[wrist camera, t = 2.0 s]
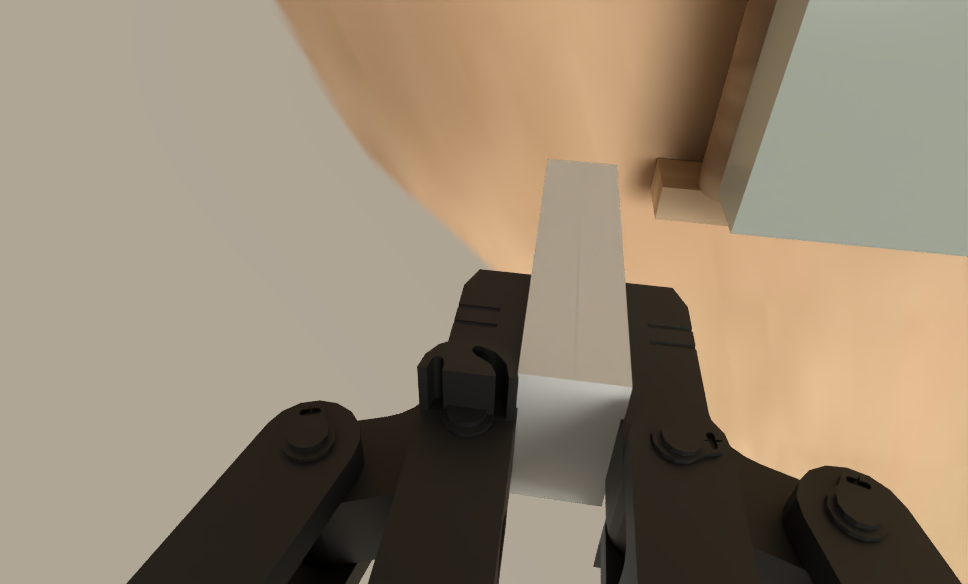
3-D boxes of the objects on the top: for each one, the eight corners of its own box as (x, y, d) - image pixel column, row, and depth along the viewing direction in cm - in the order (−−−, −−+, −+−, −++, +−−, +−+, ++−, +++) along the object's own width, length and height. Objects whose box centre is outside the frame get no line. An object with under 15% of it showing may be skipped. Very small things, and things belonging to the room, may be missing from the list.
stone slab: (807, -101, 18) (838, -88, 16) (1253, -81, 17) (1359, -65, 14) (717, 193, 24) (730, 233, 22) (1037, 222, 23) (1087, 268, 21)
